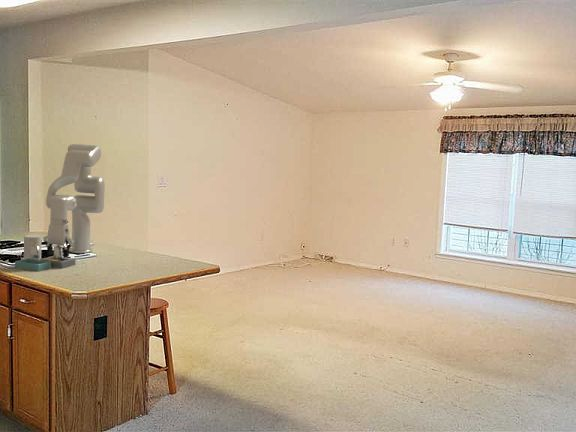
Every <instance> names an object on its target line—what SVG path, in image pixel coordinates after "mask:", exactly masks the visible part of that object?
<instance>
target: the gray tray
mask: <svg viewBox="0 0 576 432" xmlns="http://www.w3.org/2000/svg"><path fill="white" fill-rule="evenodd" d="M40 260H42V261H49V262H51V268H57V269H64V268H65V269H66V268H69V267H72V266H73V267H74V266H76V260H77V259H76V258H73V257H72V258H70V257H65V258H64V257H63V256H62V261H59V260H54V255H52V256H51V255H50V256H48V257H43V258H41V259H40Z"/></svg>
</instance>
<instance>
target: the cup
mask: <svg viewBox="0 0 576 432" xmlns="http://www.w3.org/2000/svg"><path fill="white" fill-rule="evenodd" d="M34 245H37V246H40V259H42V235H40V234H26V235H24V236H23V260H24V259H28V258H29V259H31V246H34Z"/></svg>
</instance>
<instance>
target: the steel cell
mask: <svg viewBox="0 0 576 432" xmlns="http://www.w3.org/2000/svg"><path fill="white" fill-rule="evenodd" d="M53 256H54V260H59V261H62V257H63V246H62V245H54V246H53Z"/></svg>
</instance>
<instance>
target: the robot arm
mask: <svg viewBox="0 0 576 432" xmlns="http://www.w3.org/2000/svg"><path fill="white" fill-rule="evenodd" d="M101 157H102V151H101V148H100V146H98V145H91V144H81V143H79V144H77V143H74V144H69V145H68V147H67V151H66V153H65V156H64V162H63V165H62V169H61V174H60V176H59V177H57V178H56V179H55V180H54V181H52V183H51V184H50V185H49V187H48V189H47V192H46V193H47V194H46V198H45V205H46V207H47V208H48V209H49V210H50V212H49V213H50V219H49V220H50V224H49V225H48V229H47V235H46V236H43V238H42V240H43V243H44V245H45V247H46V255H47V256H51V255H52V256H53V255H54V246H57V245H60V246H62V248H64V249H63V251H62V257H64V258H70V253H73V254H87V253H88V254H89V253H91V252H93V248H92V247H93V246H95V243H94V242H91V239H90V238H91V219H90V217H89V215H88V214H87V213H89V214H101V213H103V211H104V209H105V207H104V206H105V181H104V179H103V178H102V177H100V176H93V175H92V167H94V166H95V165H96V164H97V163H98V162H99V161H100V159H101ZM71 184H74V185H73V186H74V191H75V192H76V193H82V194H77V195H70V194H69V195H68V194H67V195H66V194H65V195H64V194H56V193H57V192H58V191H59V190H60V189H62V188H63V187H64V188H65V187H66V186H69V185H71ZM83 194H93V195H83ZM68 211H71V235H70V227H69V224H68V223H69V220H68ZM53 245H54V246H53Z"/></svg>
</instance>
